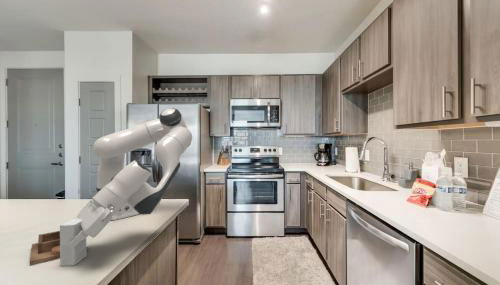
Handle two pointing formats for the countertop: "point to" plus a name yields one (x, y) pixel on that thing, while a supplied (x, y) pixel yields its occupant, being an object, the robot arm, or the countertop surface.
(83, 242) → the skincare box
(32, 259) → the organiser tray
